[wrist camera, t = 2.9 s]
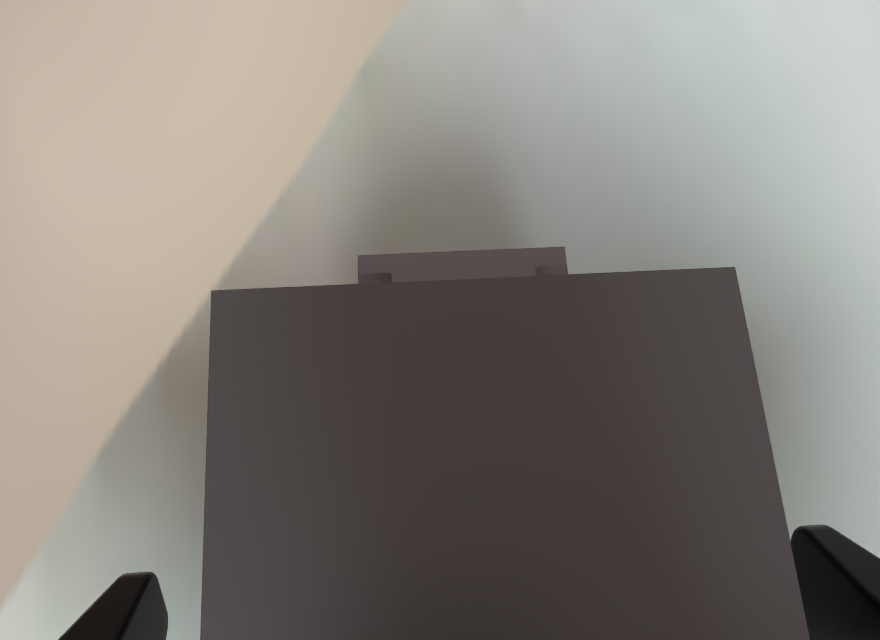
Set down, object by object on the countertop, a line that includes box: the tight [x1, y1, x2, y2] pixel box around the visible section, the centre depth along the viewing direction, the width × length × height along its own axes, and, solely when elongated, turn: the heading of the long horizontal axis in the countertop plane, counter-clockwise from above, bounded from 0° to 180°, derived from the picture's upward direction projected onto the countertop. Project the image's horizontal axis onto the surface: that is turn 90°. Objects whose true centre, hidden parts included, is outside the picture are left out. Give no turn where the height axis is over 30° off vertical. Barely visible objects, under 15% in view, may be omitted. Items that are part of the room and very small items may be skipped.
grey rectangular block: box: [200, 247, 810, 640], centre depth 13 cm, size 6×7×11 cm
